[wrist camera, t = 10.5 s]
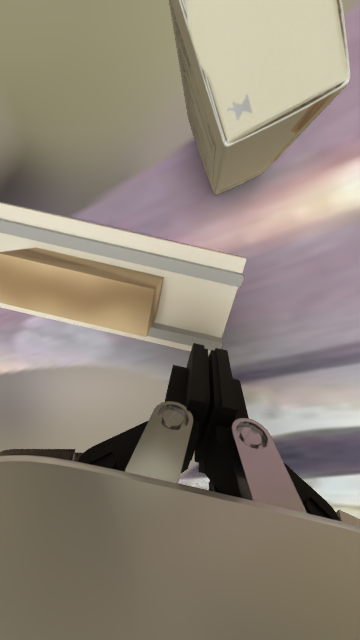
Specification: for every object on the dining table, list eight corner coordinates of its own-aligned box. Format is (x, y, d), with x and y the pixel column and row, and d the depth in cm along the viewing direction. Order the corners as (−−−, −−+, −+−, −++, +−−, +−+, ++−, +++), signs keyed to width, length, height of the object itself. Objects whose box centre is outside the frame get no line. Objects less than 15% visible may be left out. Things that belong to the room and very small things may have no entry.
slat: (156, 316, 23) (146, 337, 19) (37, 289, 23) (0, 302, 19) (164, 277, 21) (154, 289, 17) (36, 247, 21) (-5, 252, 17)
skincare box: (265, 173, 19) (359, 93, 7) (213, 197, 20) (226, 159, 8) (240, 77, 17) (317, -233, 5) (184, 109, 18) (150, -97, 6)
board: (215, 351, 25) (219, 395, 19) (-57, 288, 25) (-146, 310, 19) (244, 257, 21) (262, 271, 15) (-77, 184, 21) (-197, 166, 15)
